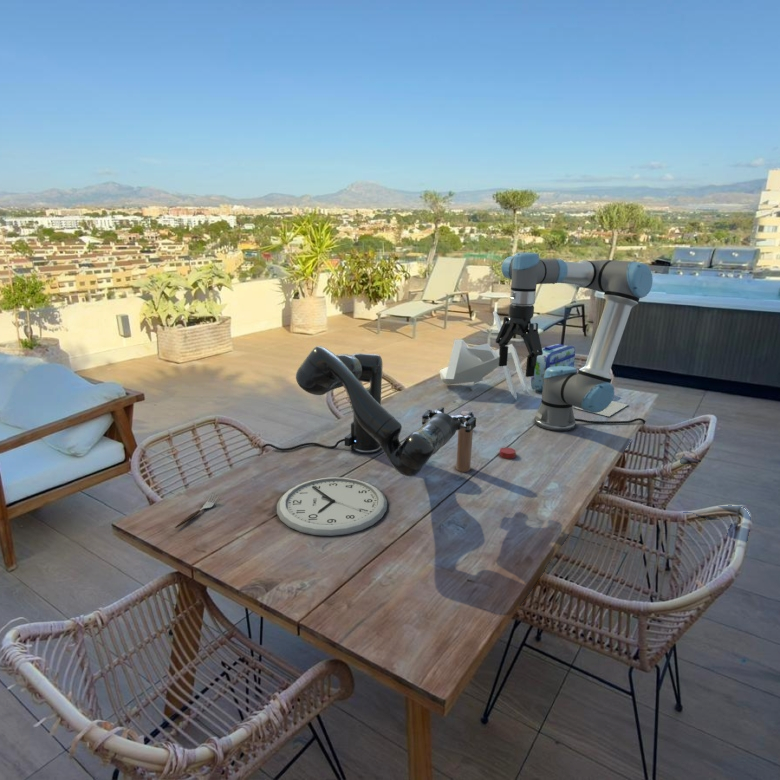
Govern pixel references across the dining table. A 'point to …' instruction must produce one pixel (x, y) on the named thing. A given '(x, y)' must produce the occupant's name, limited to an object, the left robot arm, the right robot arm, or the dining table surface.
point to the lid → (507, 453)
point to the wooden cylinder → (464, 448)
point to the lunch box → (551, 362)
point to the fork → (206, 505)
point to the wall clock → (331, 506)
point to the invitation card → (610, 408)
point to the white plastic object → (479, 363)
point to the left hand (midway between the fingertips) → (456, 412)
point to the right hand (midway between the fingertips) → (515, 370)
